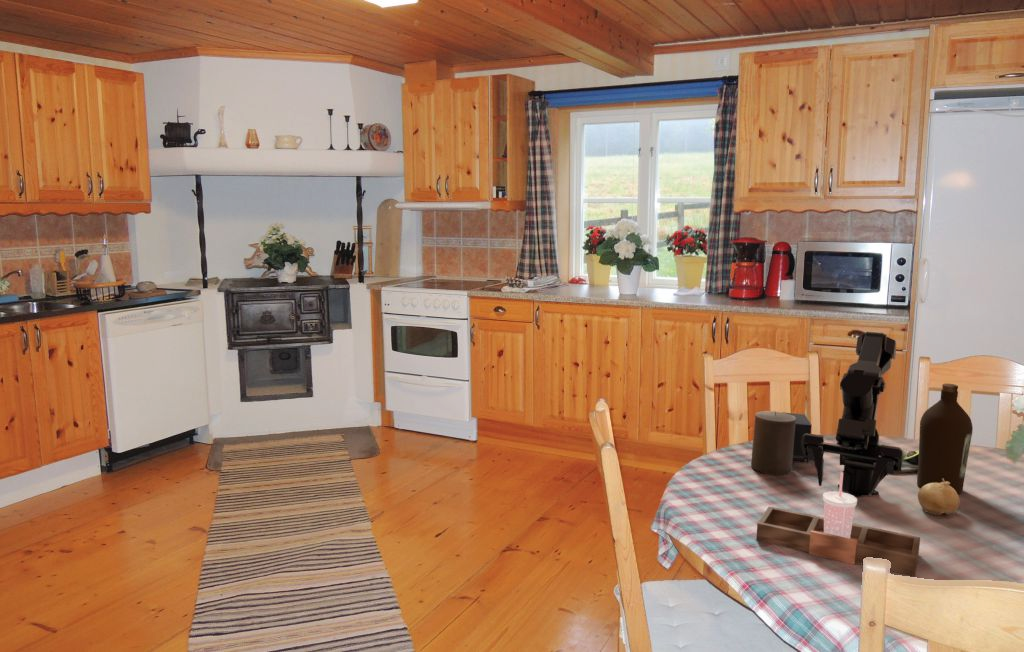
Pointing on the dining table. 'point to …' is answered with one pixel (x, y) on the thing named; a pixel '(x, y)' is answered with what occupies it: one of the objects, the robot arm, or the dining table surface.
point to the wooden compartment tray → (838, 540)
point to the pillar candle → (773, 442)
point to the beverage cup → (838, 512)
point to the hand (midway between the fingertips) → (844, 489)
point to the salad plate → (909, 461)
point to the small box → (800, 436)
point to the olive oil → (944, 441)
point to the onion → (938, 498)
